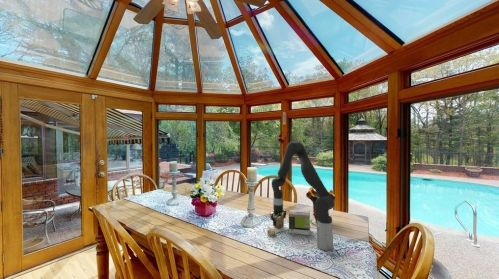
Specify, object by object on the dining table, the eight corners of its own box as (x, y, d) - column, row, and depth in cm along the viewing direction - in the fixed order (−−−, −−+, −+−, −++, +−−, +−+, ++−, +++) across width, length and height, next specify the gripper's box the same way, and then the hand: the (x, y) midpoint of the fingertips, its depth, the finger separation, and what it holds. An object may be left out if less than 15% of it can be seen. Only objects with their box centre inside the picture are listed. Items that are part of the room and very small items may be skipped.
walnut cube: (283, 226, 176) (283, 219, 176) (277, 228, 173) (277, 220, 173) (279, 223, 181) (279, 216, 181) (273, 225, 178) (272, 217, 178)
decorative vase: (339, 228, 175) (337, 192, 174) (308, 227, 180) (306, 192, 179) (334, 217, 195) (332, 185, 195) (306, 217, 200) (305, 186, 199)
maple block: (275, 235, 166) (275, 229, 166) (271, 236, 163) (271, 231, 163) (270, 233, 169) (270, 228, 169) (267, 235, 166) (267, 229, 166)
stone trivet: (289, 229, 175) (289, 228, 175) (276, 232, 169) (276, 231, 169) (280, 223, 185) (280, 222, 185) (267, 226, 180) (267, 225, 180)
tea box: (310, 230, 173) (310, 210, 173) (309, 235, 164) (309, 215, 163) (290, 227, 178) (290, 209, 177) (288, 233, 168) (288, 213, 167)
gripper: (273, 206, 170) (273, 228, 170) (288, 203, 176) (288, 224, 177) (267, 203, 176) (267, 224, 177) (283, 200, 183) (283, 221, 184)
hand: (278, 224), depth 177 cm, fingers closed on walnut cube, 6 cm apart
